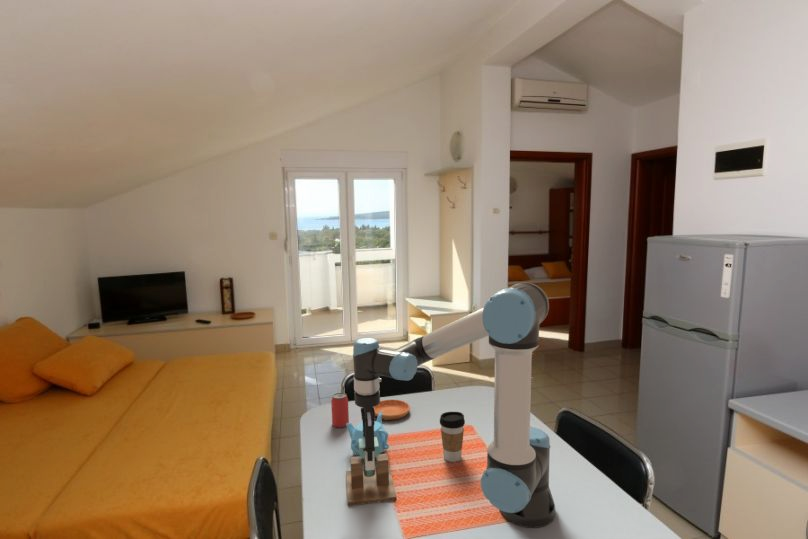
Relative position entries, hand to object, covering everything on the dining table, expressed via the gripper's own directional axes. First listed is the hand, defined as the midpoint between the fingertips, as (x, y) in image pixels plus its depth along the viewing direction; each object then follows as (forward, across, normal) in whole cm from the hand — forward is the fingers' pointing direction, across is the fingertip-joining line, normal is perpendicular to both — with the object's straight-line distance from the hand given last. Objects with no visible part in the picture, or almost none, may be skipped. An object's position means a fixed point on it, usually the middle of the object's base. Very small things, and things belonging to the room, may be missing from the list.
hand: (369, 463), depth 136 cm
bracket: (+7, 0, 0) cm, 7 cm away
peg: (+3, 0, 0) cm, 3 cm away
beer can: (+8, +43, +8) cm, 44 cm away
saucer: (+8, +49, -13) cm, 51 cm away
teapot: (+8, +20, -1) cm, 21 cm away
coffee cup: (+8, +11, -29) cm, 32 cm away
